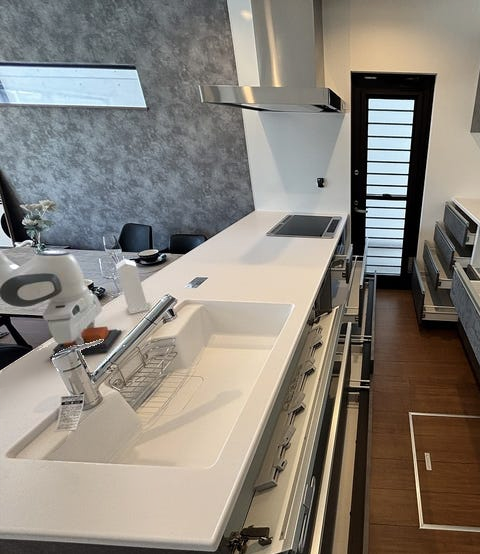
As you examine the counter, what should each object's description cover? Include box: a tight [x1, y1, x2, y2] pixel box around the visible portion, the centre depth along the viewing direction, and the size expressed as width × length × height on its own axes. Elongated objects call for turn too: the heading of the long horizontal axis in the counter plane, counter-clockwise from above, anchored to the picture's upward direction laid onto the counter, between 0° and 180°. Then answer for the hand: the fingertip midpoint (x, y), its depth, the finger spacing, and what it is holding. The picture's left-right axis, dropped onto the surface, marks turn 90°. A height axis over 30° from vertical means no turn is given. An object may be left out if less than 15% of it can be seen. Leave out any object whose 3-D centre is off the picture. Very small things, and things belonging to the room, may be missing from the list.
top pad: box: [63, 325, 109, 347], centre depth 98 cm, size 10×5×4 cm, turn 108°
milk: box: [115, 255, 149, 315], centre depth 117 cm, size 6×6×22 cm
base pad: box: [49, 328, 122, 361], centre depth 99 cm, size 14×12×2 cm
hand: (86, 338), depth 98 cm, fingers closed on top pad, 5 cm apart
